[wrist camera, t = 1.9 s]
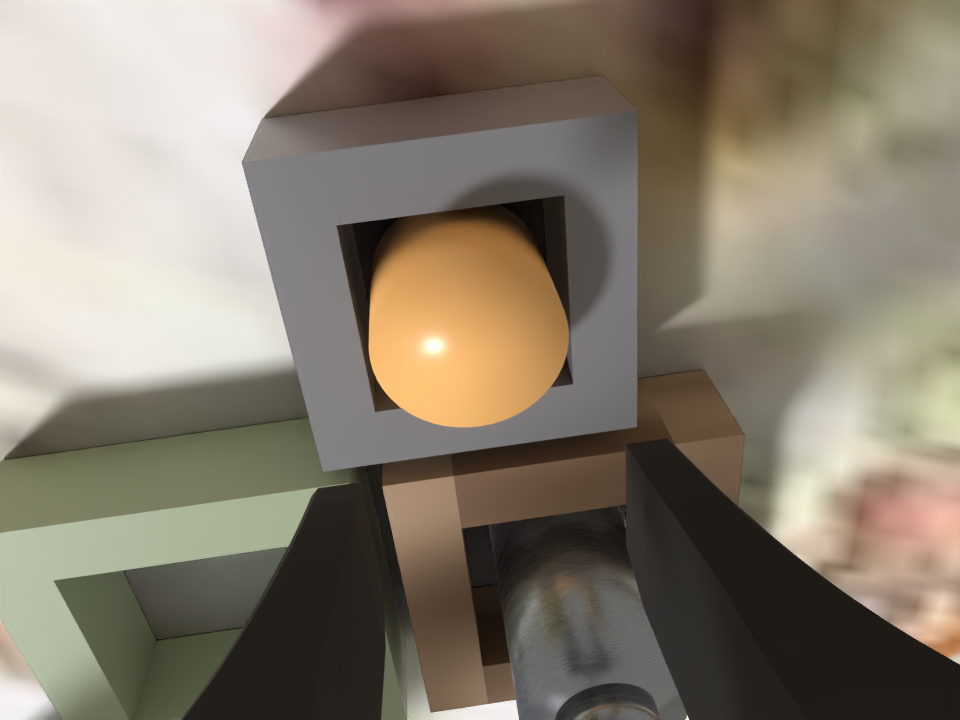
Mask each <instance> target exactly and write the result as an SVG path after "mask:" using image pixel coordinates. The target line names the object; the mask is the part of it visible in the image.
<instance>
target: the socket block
mask: <svg viewBox="0 0 960 720" xmlns="http://www.w3.org/2000/svg"><path fill="white" fill-rule="evenodd" d="M744 436H745V434H744V433H743V431H742V429H741V428H740V426H739V425H738V423H737V421H736V420H735V418H734V417H733V415H732V413H731V412H730V410H729V409H728V407H727V405H726V404H725V402H724V401H723V399H722V397H721V396H720V394H719V393H718V391H717V389H716V388H715V386H714V385H713V383H712V381H711V380H710V378H709V377H708V375H707V373H706V372H705V370H698V371H690V372H683V373H676V374H669V375H662V376H655V377H648V378H641V379H637V427H634V428H627V429H620V430H613V431H606V432H599V433H592V434H585V435H578V436H571V437H564V438H557V439H550V440H543V441H536V442H529V443H522V444H515V445H508V446H501V447H494V448H487V449H480V450H473V451H466V452H459V453H452V454H445V455H438V456H430V457H423V458H416V459H409V460H402V461H395V462H388V463H382V488H383V493H384V497H385V502H386V507H387V511H388V516H389V521H390V525H391V530H392V535H393V539H394V544H395V549H396V553H397V558H398V563H399V567H400V572H401V576H402V581H403V586H404V590H405V595H406V600H407V604H408V609H409V614H410V618H411V623H412V628H413V632H414V637H415V642H416V646H417V651H418V656H419V660H420V665H421V669H422V674H423V679H424V683H425V688H426V693H427V697H428V702H429V707H430V711H431V712H438V711H444V710H451V709H458V708H464V707H471V706H477V705H484V704H490V703H497V702H503V701H510V700H516V696H515V690H514V684H513V677H512V671H511V665H510V658H509V652H508V646H507V639H506V633H505V627H504V621H503V614H502V608H501V602H500V595H499V589H498V585H493V586H486V587H479V588H473V586H472V579H471V572H470V566H469V559H468V552H467V546H466V539H465V532H464V528H469V527H476V526H483V525H490V524H496V523H503V522H510V521H517V520H524V519H531V518H538V517H545V516H551V515H558V514H565V513H572V512H579V511H586V510H593V509H600V508H606V507H613V506H620V505H626V444H630V443H637V442H644V441H651V440H658V439H665V438H667V439H668V440H670V441H671V442H672V443H673V444H674V445H675V446H676V447H677V448H678V449H679V450H680V451H681V452H682V453H683V454H684V455H685V456H686V457H687V458H688V459H689V460H690V461H691V462H692V463H693V464H694V465H695V466H696V467H697V468H698V469H699V470H700V471H702V472H703V473H704V474H705V475H706V476H707V477H708V478H709V479H710V480H711V481H712V482H713V483H714V484H715V485H716V486H717V487H718V488H719V489H720V490H721V491H722V492H723V493H724V494H725V495H727V496H728V497H729V498H730V499H731V500H732V501H733V502H734V503H735V504H736V505H737V506H738V501H739V490H740V479H741V468H742V457H743V446H744Z"/></svg>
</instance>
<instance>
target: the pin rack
mask: <svg viewBox="0 0 960 720" xmlns="http://www.w3.org/2000/svg"><path fill="white" fill-rule="evenodd" d="M357 482H360V486H361V490H362V494H363V498H364V503H365V507H366V511H367V516H368V520H369V524H370V528H371V533H372V537H373V541H374V546H375V550H376V554H377V558H378V563H379V567H380V571H381V576H382V580H383V595H384V615H385V639H386V651H385V667H384V683H383V699H382V714H381V720H407V692H406V656H405V638H404V634H403V629H402V625H401V620H400V616H399V612H398V607H397V603H396V598H395V594H394V589H393V585H392V580H391V576H390V572H389V567H388V563H387V558H386V554H385V549H384V545H383V540H382V536H381V532H380V527H379V523H378V518H377V514H376V509H375V505H374V501H373V496H372V492H371V487H370V483H369V478H368V474H367V469H366V466H360V467H353V468H346V469H339V470H332V471H325V472H323V470H322V466H321V462H320V458H319V454H318V451H317V447H316V443H315V439H314V435H313V432H312V428H311V424H310V420H309V418H302V419H295V420H287V421H280V422H273V423H266V424H259V425H252V426H245V427H237V428H230V429H223V430H216V431H209V432H202V433H195V434H188V435H180V436H173V437H166V438H159V439H152V440H145V441H138V442H130V443H123V444H116V445H109V446H102V447H95V448H88V449H80V450H73V451H66V452H59V453H52V454H45V455H38V456H31V457H23V458H16V459H9V460H2V461H1V462H0V620H1V621H2V623H3V625H4V626H5V628H6V630H7V631H8V633H9V635H10V636H11V638H12V639H13V641H14V643H15V644H16V646H17V648H18V649H19V651H20V652H21V654H22V656H23V657H24V659H25V661H26V662H27V664H28V665H29V667H30V669H31V670H32V672H33V674H34V675H35V677H36V679H37V680H38V682H39V683H40V685H41V687H42V688H43V690H44V692H45V693H46V695H47V696H48V698H49V700H50V701H51V703H52V705H53V706H54V708H55V710H56V711H57V713H58V714H59V716H60V718H61V719H62V720H181V719H182V717H183V716H184V715H185V713H186V712H187V710H188V709H189V708H190V706H191V705H192V704H193V702H194V701H195V700H196V698H197V697H198V696H199V694H200V693H201V691H202V690H203V689H204V687H205V686H206V684H207V683H208V681H209V680H210V679H211V677H212V676H213V674H214V673H215V671H216V670H217V668H218V667H219V665H220V664H221V662H222V661H223V659H224V658H225V656H226V655H227V653H228V651H229V650H230V648H231V647H232V645H233V643H234V642H235V640H236V639H237V637H238V635H239V634H240V632H241V630H242V629H243V628H239V629H232V630H226V631H219V632H212V633H205V634H199V635H192V636H185V637H178V638H172V639H165V640H158V641H156V639H155V637H154V635H153V633H152V630H151V628H150V626H149V624H148V622H147V620H146V618H145V616H144V613H143V611H142V609H141V607H140V605H139V603H138V601H137V599H136V597H135V594H134V592H133V590H132V588H131V586H130V584H129V582H128V580H127V577H126V575H125V573H124V571H123V570H129V569H136V568H143V567H150V566H156V565H163V564H170V563H177V562H184V561H191V560H198V559H205V558H212V557H218V556H225V555H232V554H239V553H246V552H253V551H260V550H267V549H274V548H280V547H287V546H289V544H290V542H291V540H292V538H293V536H294V534H295V532H296V530H297V528H298V526H299V524H300V521H301V519H302V517H303V515H304V512H305V510H306V508H307V506H308V503H309V501H310V498H311V496H312V495H313V493H314V492H315V491H316V490H317V489H318V488H322V487H329V486H336V485H343V484H350V483H357Z"/></svg>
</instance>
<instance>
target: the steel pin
mask: <svg viewBox="0 0 960 720" xmlns="http://www.w3.org/2000/svg"><path fill="white" fill-rule="evenodd" d="M488 526H489V532H490V539H491V545H492V551H493V558H494V564H495V570H496V576H497V583H498V589H499V595H500V602H501V608H502V614H503V621H504V627H505V633H506V639H507V646H508V652H509V658H510V665H511V671H512V677H513V684H514V690H515V696H516V702H517V709H518V715H519V720H685V719H686V717H687V713H686V710H685V708H684V705H683V703H682V701H681V698H680V696H679V693H678V691H677V688H676V686H675V684H674V681H673V679H672V676H671V674H670V671H669V669H668V667H667V664H666V662H665V659H664V657H663V654H662V652H661V650H660V647H659V645H658V642H657V640H656V637H655V635H654V632H653V630H652V627H651V625H650V622H649V620H648V617H647V615H646V612H645V610H644V607H643V604H642V600H641V597H640V593H639V590H638V586H637V583H636V580H635V576H634V572H633V568H632V565H631V561H630V557H629V554H628V550H627V546H626V520H625V518H624V515H623V512H622V509H621V507H620V506H613V507H606V508H600V509H593V510H586V511H579V512H572V513H565V514H558V515H551V516H545V517H538V518H531V519H524V520H517V521H510V522H503V523H496V524H490V525H488Z"/></svg>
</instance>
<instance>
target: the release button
mask: <svg viewBox="0 0 960 720" xmlns="http://www.w3.org/2000/svg"><path fill="white" fill-rule="evenodd" d="M568 344H569V330H568V322H567V318H566V315H565V311H564V308H563V306H562V303H561V301H560V298H559V296H558V293H557V291H556V288H555V286H554V283H553V281H552V278H551V276H550V273H549V271H548V268H547V266H546V263H545V261H544V258H543V256H542V253H541V251H540V248H539V246H538V244H537V241H536V239H535V237H534V235H533V234H532V232H531V231H530V229H529V228H528V227H527V226H526V224H525V223H524V222H523V221H522V220H521V219H520V218H519V217H518V216H516V215H515V214H514V213H513V212H511V211H510V210H508V209H507V208H505V207H504V206H501V205H499V204H495V205H487V206H480V207H472V208H465V209H457V210H450V211H442V212H434V213H427V214H419V215H412V216H404V217H399V218H398V219H397V220H396V221H395V222H394V223H393V224H392V225H391V226H390V227H389V228H388V230H387V231H386V232H385V234H384V235H383V237H382V238H381V240H380V242H379V244H378V246H377V248H376V251H375V254H374V257H373V261H372V266H371V286H370V320H369V356H370V362H371V365H372V369H373V372H374V374H375V376H376V378H377V381H378V382H379V384H380V385H381V387H382V389H383V390H384V391H385V393H386V394H387V395H388V396H389V397H390V398H391V399H392V400H393V401H394V402H395V403H396V404H397V405H398V406H399V407H401V408H402V409H404V410H405V411H407V412H408V413H410V414H412V415H414V416H416V417H418V418H420V419H422V420H425V421H428V422H430V423H434V424H438V425H442V426H449V427H479V426H485V425H490V424H494V423H497V422H500V421H503V420H506V419H508V418H511V417H513V416H515V415H517V414H519V413H520V412H522V411H524V410H526V409H527V408H528V407H530V406H531V405H533V404H534V403H535V402H536V401H538V400H539V399H540V398H541V397H542V396H543V395H544V394H545V393H546V392H547V391H548V389H549V388H550V387H551V386H552V384H553V383H554V381H555V380H556V378H557V377H558V375H559V373H560V371H561V369H562V367H563V364H564V361H565V358H566V355H567V350H568Z"/></svg>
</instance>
